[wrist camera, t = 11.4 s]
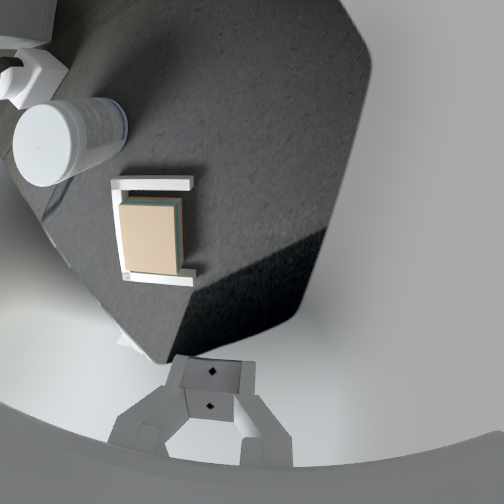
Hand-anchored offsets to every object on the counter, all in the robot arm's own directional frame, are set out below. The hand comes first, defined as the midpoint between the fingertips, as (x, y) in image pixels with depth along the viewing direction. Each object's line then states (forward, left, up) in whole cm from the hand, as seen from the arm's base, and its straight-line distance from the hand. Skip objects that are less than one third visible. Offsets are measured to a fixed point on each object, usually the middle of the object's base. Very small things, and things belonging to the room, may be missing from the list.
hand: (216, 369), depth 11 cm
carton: (+8, -14, -33) cm, 37 cm away
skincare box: (-27, -35, -33) cm, 55 cm away
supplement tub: (-7, -22, -33) cm, 41 cm away
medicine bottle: (-17, -33, -33) cm, 50 cm away
